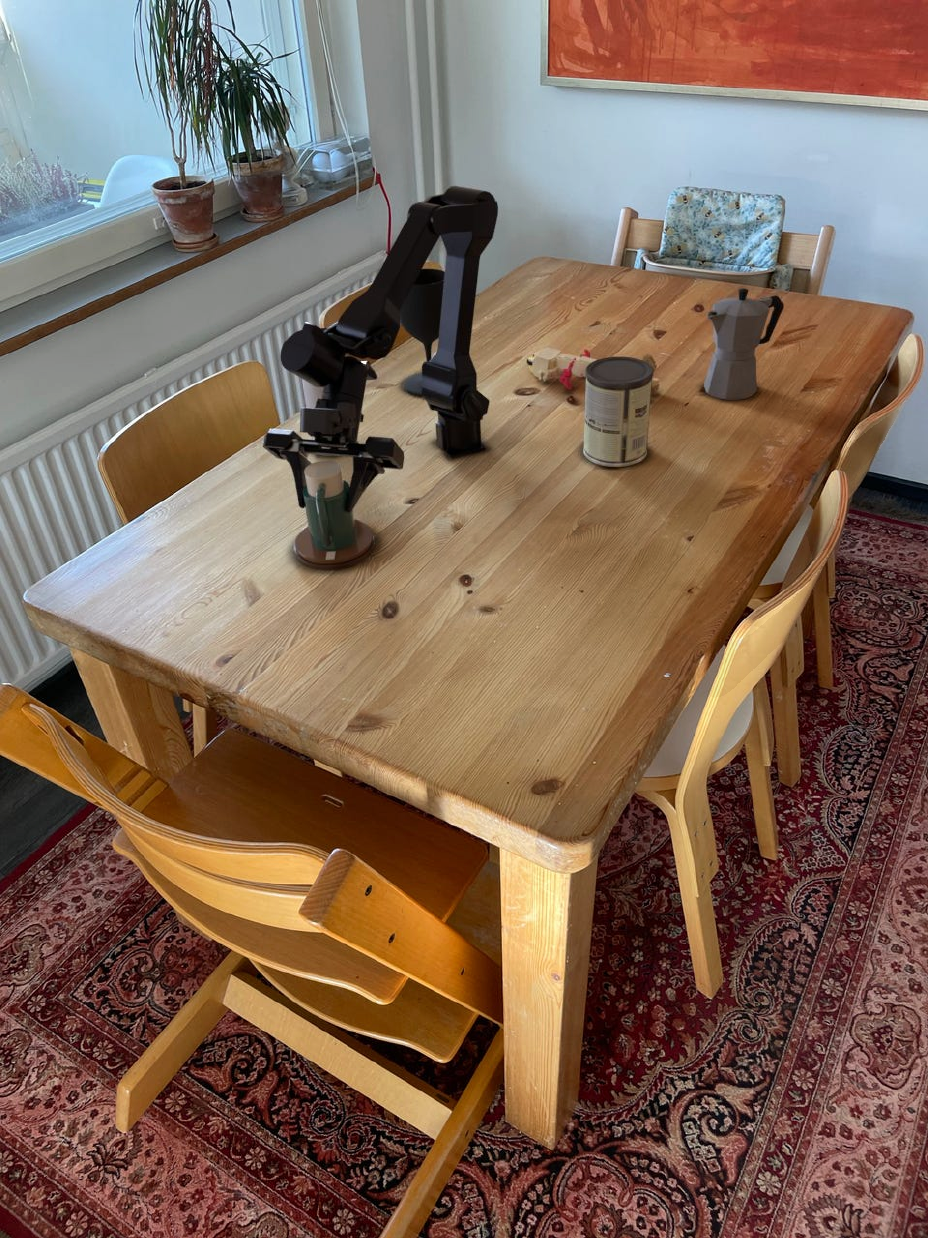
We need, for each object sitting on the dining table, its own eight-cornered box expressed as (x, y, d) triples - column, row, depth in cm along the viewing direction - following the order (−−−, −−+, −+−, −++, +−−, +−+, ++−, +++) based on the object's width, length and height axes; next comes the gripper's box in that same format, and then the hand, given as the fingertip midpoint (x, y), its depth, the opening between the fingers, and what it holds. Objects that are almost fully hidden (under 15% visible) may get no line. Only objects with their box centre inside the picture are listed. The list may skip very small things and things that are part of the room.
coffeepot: (713, 407, 162) (727, 304, 151) (683, 387, 169) (693, 287, 158) (787, 389, 167) (805, 287, 156) (754, 370, 174) (769, 271, 162)
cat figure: (661, 393, 170) (539, 359, 180) (669, 347, 165) (542, 315, 174) (640, 415, 164) (514, 379, 173) (647, 368, 158) (517, 333, 168)
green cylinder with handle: (300, 522, 137) (287, 451, 130) (375, 519, 137) (366, 447, 130) (289, 568, 128) (275, 494, 121) (370, 564, 128) (360, 490, 121)
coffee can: (594, 433, 157) (597, 352, 148) (654, 443, 153) (661, 360, 145) (573, 461, 150) (575, 377, 141) (636, 472, 146) (642, 387, 137)
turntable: (360, 517, 139) (359, 513, 139) (387, 556, 131) (387, 551, 130) (284, 537, 136) (283, 533, 135) (307, 579, 127) (306, 574, 127)
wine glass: (466, 375, 178) (461, 268, 165) (447, 399, 170) (440, 288, 158) (415, 370, 180) (406, 264, 168) (394, 393, 173) (383, 284, 160)
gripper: (255, 373, 124) (235, 487, 122) (390, 381, 120) (371, 500, 118) (288, 403, 135) (270, 509, 133) (412, 412, 131) (395, 521, 129)
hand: (324, 509), depth 128 cm, fingers closed on green cylinder with handle, 6 cm apart
